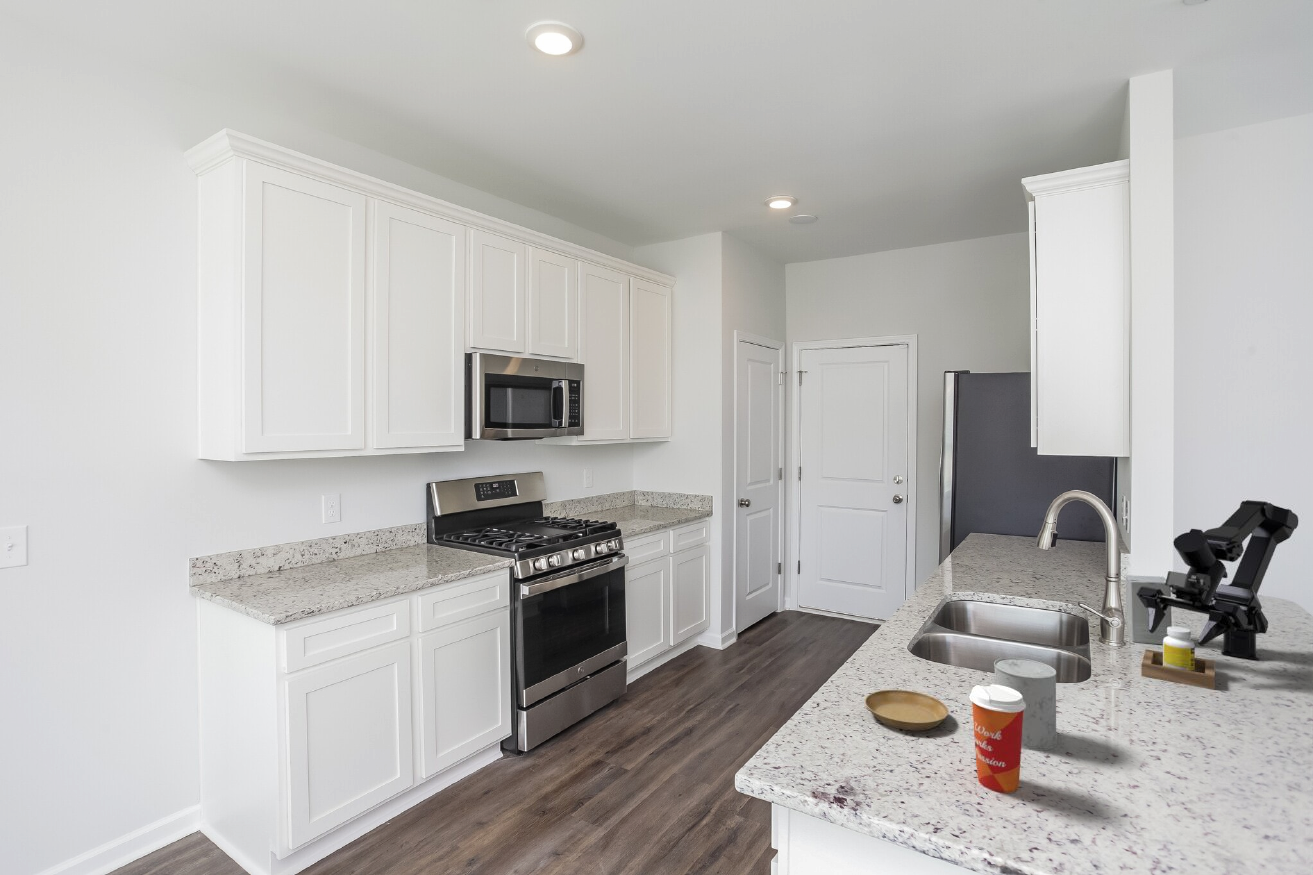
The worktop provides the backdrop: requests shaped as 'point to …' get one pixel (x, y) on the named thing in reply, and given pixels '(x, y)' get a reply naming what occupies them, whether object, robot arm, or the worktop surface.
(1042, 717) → the grey concrete cylinder
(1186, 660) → the supplement bottle
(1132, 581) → the skincare box
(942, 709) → the plant saucer
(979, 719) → the paper cup
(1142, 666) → the brown wooden frame
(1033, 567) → the worktop surface
